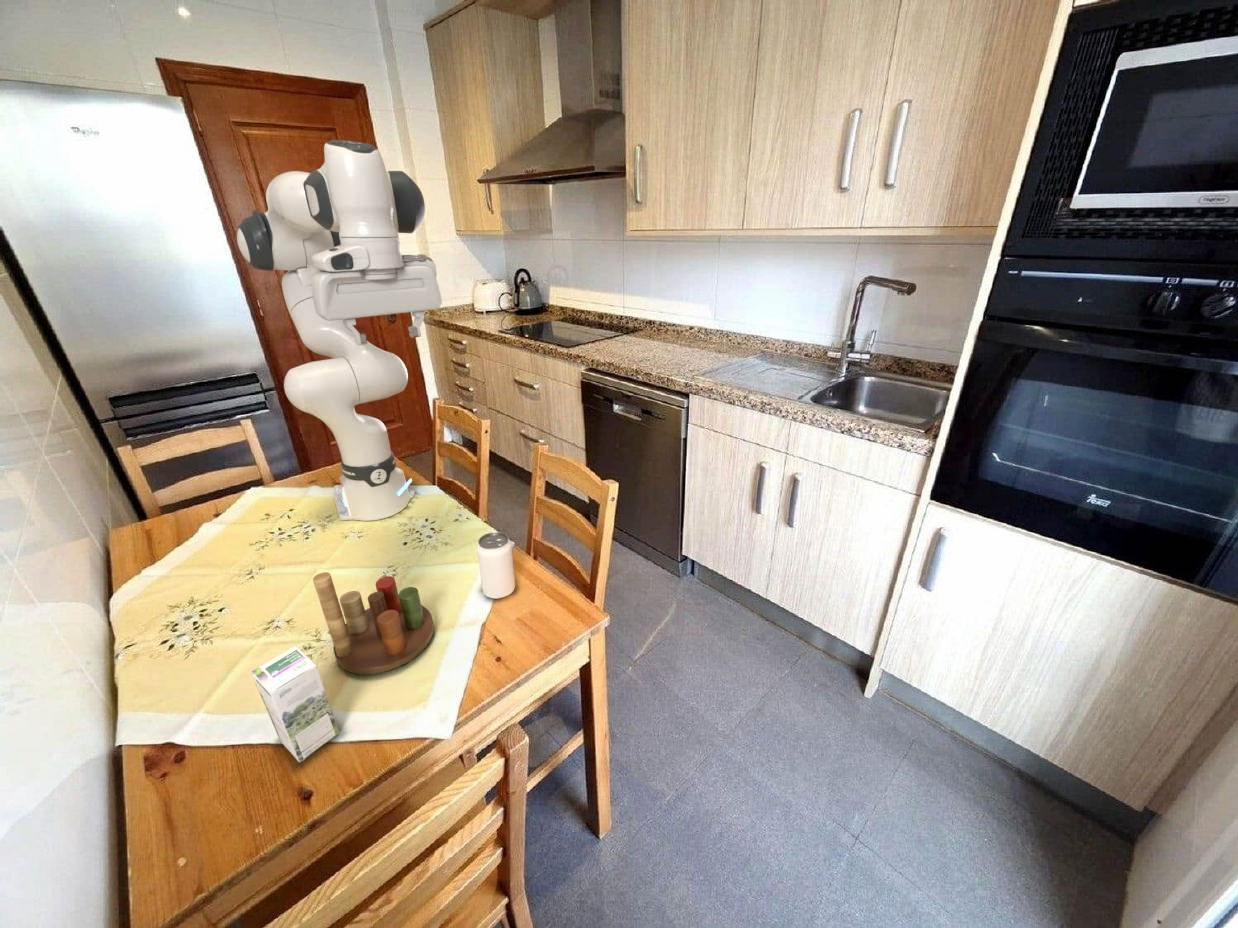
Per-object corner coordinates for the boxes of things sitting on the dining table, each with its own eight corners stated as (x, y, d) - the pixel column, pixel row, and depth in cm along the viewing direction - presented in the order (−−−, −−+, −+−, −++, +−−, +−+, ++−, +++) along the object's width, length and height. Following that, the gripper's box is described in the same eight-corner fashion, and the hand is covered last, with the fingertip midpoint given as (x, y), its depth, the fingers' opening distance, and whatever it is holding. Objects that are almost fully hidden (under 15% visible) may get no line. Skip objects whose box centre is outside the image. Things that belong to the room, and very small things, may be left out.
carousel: (322, 634, 88) (296, 557, 81) (411, 593, 98) (396, 521, 91) (353, 691, 78) (326, 608, 71) (449, 639, 88) (435, 561, 81)
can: (507, 602, 98) (502, 552, 93) (477, 597, 99) (470, 547, 94) (520, 581, 104) (515, 532, 99) (491, 576, 105) (485, 528, 100)
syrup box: (320, 713, 76) (294, 642, 70) (341, 734, 73) (316, 662, 66) (280, 742, 72) (248, 669, 65) (300, 765, 69) (269, 692, 62)
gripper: (426, 253, 91) (437, 330, 97) (299, 257, 78) (321, 345, 85) (441, 255, 87) (452, 335, 93) (311, 260, 74) (333, 352, 80)
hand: (389, 340), depth 89 cm, fingers open, 8 cm apart
